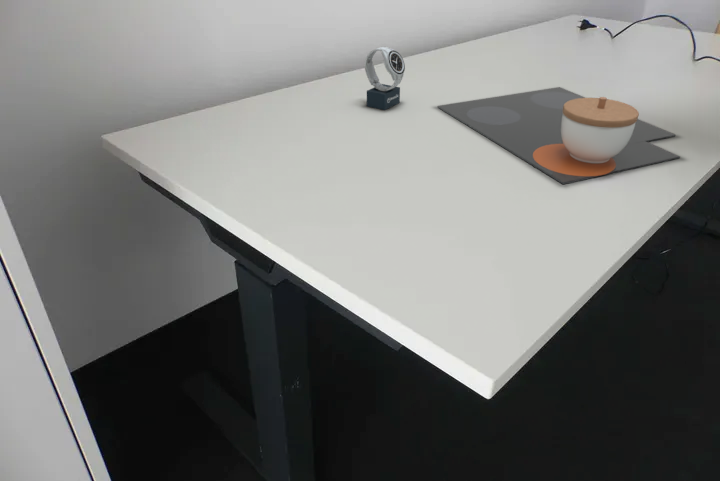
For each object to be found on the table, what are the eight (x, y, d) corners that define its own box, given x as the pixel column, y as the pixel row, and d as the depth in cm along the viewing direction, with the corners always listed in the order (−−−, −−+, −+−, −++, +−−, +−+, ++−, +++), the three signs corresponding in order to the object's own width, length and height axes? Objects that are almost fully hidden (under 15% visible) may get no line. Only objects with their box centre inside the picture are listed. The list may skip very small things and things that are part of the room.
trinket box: (564, 138, 92) (575, 83, 87) (631, 151, 87) (647, 94, 82) (546, 160, 85) (557, 101, 80) (618, 176, 80) (635, 114, 75)
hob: (559, 88, 117) (559, 87, 116) (711, 151, 88) (711, 149, 88) (437, 107, 107) (437, 105, 107) (563, 184, 78) (563, 182, 78)
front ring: (577, 139, 92) (577, 139, 92) (634, 167, 82) (634, 167, 82) (516, 151, 88) (516, 150, 88) (568, 182, 78) (568, 182, 78)
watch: (393, 112, 105) (394, 54, 99) (359, 104, 109) (358, 48, 103) (408, 104, 109) (410, 48, 103) (375, 97, 113) (375, 42, 107)
